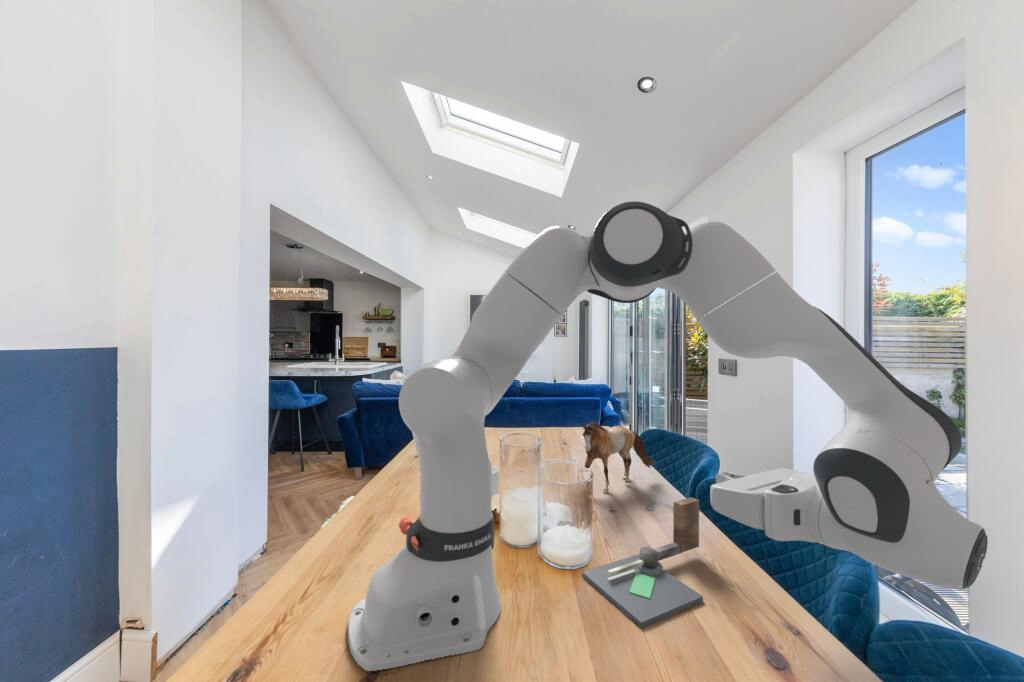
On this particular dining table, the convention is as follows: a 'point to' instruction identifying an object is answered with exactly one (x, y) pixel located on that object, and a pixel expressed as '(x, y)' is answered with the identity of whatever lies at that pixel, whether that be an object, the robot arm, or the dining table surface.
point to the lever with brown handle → (682, 537)
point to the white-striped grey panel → (642, 591)
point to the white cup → (495, 480)
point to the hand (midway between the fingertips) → (721, 477)
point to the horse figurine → (613, 447)
